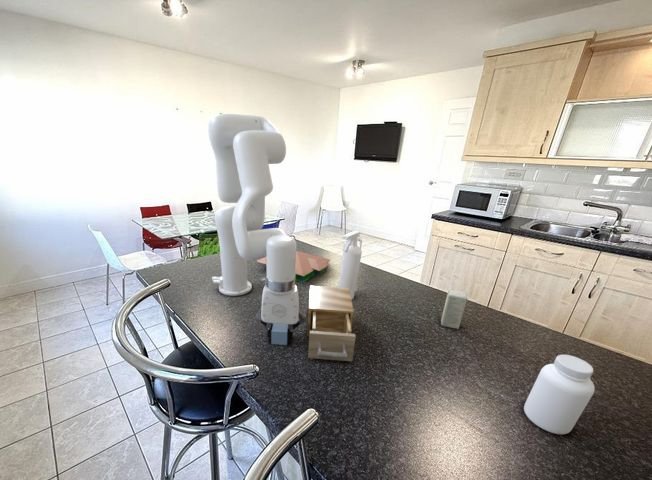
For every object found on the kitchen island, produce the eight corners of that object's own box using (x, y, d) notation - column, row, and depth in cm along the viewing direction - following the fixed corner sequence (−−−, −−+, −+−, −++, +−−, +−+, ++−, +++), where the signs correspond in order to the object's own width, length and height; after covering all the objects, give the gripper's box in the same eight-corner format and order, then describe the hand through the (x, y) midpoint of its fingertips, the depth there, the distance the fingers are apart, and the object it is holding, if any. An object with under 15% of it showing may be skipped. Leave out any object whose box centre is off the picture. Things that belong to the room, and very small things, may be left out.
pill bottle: (513, 404, 65) (538, 350, 59) (546, 402, 66) (574, 349, 60) (544, 437, 58) (577, 379, 52) (581, 434, 59) (618, 377, 53)
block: (271, 344, 83) (271, 331, 81) (273, 334, 87) (273, 322, 85) (286, 345, 83) (287, 332, 81) (288, 335, 87) (288, 323, 85)
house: (309, 285, 118) (310, 266, 114) (248, 265, 135) (247, 248, 132) (335, 267, 135) (337, 251, 131) (278, 252, 152) (278, 237, 149)
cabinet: (350, 339, 86) (353, 311, 82) (306, 336, 87) (308, 308, 83) (345, 313, 99) (348, 287, 95) (308, 310, 100) (309, 285, 96)
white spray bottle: (364, 294, 112) (373, 230, 101) (344, 304, 104) (352, 236, 94) (350, 287, 116) (357, 226, 106) (330, 297, 109) (336, 232, 99)
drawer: (354, 374, 72) (358, 348, 68) (307, 370, 73) (309, 345, 69) (347, 331, 88) (350, 308, 85) (309, 328, 89) (310, 306, 86)
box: (458, 322, 95) (467, 292, 90) (458, 329, 92) (468, 298, 87) (440, 318, 97) (448, 288, 92) (440, 325, 94) (448, 294, 89)
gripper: (246, 287, 75) (248, 345, 82) (312, 291, 73) (308, 350, 81) (252, 275, 81) (253, 329, 89) (313, 278, 80) (309, 333, 88)
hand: (280, 338), depth 85 cm, fingers closed on block, 4 cm apart
